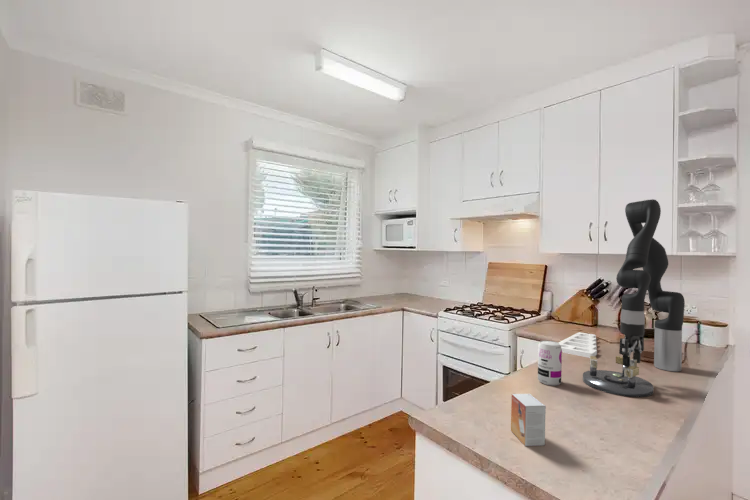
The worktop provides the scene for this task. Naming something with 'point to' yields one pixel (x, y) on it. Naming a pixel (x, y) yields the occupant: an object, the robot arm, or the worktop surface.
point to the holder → (580, 345)
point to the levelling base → (617, 384)
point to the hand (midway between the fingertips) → (631, 364)
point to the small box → (528, 419)
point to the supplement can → (549, 362)
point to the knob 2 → (631, 375)
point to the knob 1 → (593, 366)
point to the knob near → (620, 361)
